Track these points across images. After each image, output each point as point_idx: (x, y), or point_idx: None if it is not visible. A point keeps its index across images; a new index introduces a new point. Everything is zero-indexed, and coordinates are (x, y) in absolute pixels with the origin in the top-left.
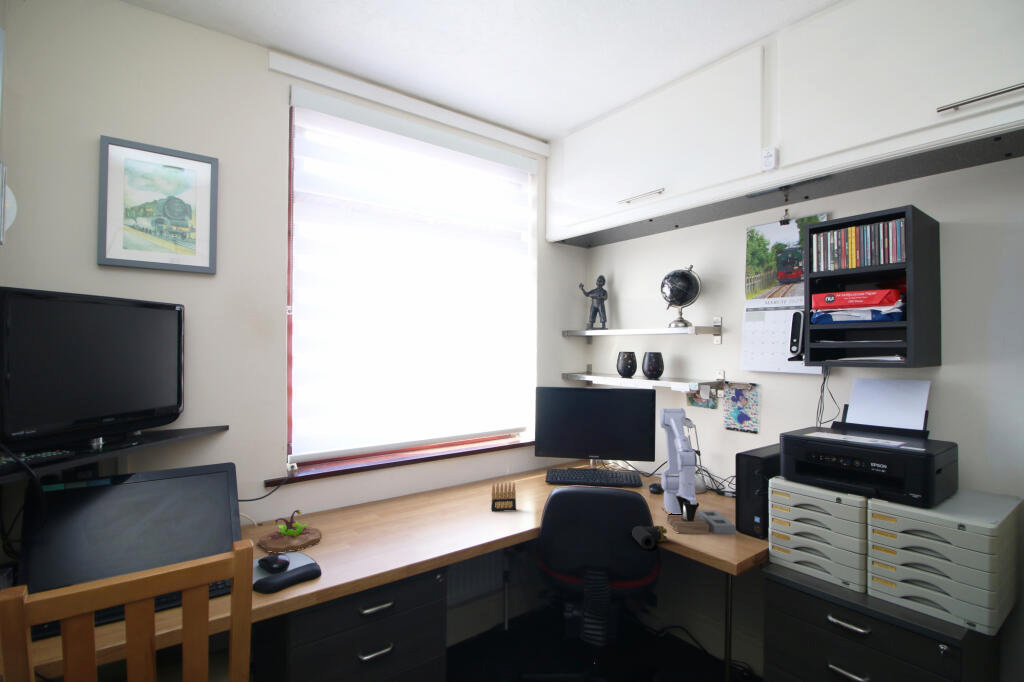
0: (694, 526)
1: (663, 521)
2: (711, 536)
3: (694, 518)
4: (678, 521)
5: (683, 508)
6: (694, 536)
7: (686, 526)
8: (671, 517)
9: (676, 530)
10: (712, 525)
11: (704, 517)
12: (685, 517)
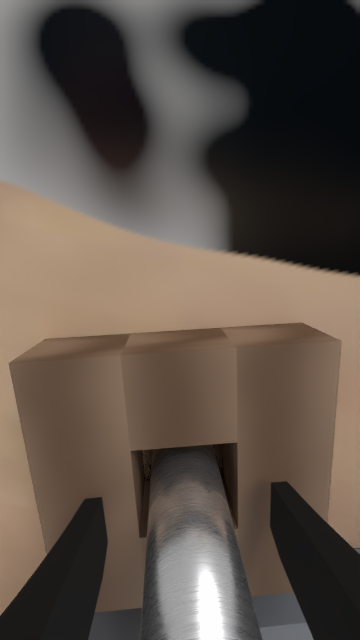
0: (44, 507)
1: (331, 297)
2: (25, 548)
3: None
4: (135, 405)
5: (196, 595)
6: (2, 448)
7: (31, 444)
8: (259, 365)
9: (51, 344)
10: (105, 628)
11: (268, 622)
12: (158, 499)
